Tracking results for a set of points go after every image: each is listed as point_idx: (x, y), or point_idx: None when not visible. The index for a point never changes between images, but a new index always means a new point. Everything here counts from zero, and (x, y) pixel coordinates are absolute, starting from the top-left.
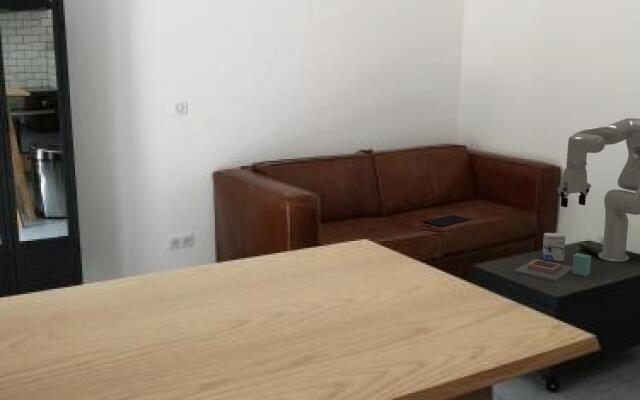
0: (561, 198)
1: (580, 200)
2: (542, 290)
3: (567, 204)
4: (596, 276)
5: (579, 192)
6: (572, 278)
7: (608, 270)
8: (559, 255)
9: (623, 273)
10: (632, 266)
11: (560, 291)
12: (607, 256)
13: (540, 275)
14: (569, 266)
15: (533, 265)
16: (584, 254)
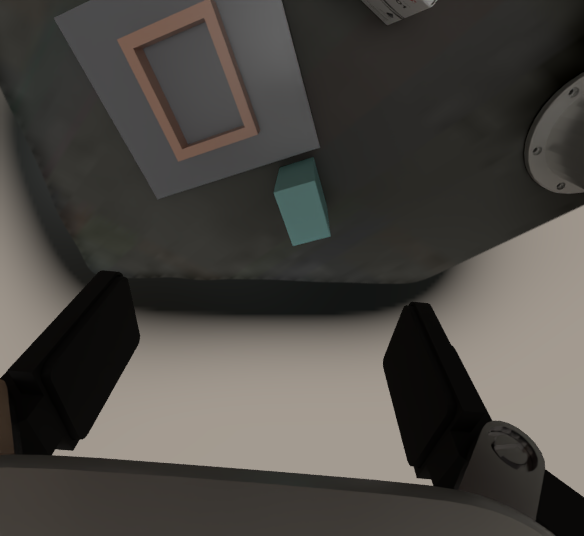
0: (5, 375)
1: (410, 363)
2: (78, 226)
3: (124, 365)
4: None
5: (461, 473)
6: (237, 205)
7: (408, 217)
8: (375, 6)
9: (414, 257)
10: (512, 233)
11: (126, 256)
12: (551, 137)
13: (132, 142)
14: (312, 128)
15: (133, 71)
16: (323, 211)
